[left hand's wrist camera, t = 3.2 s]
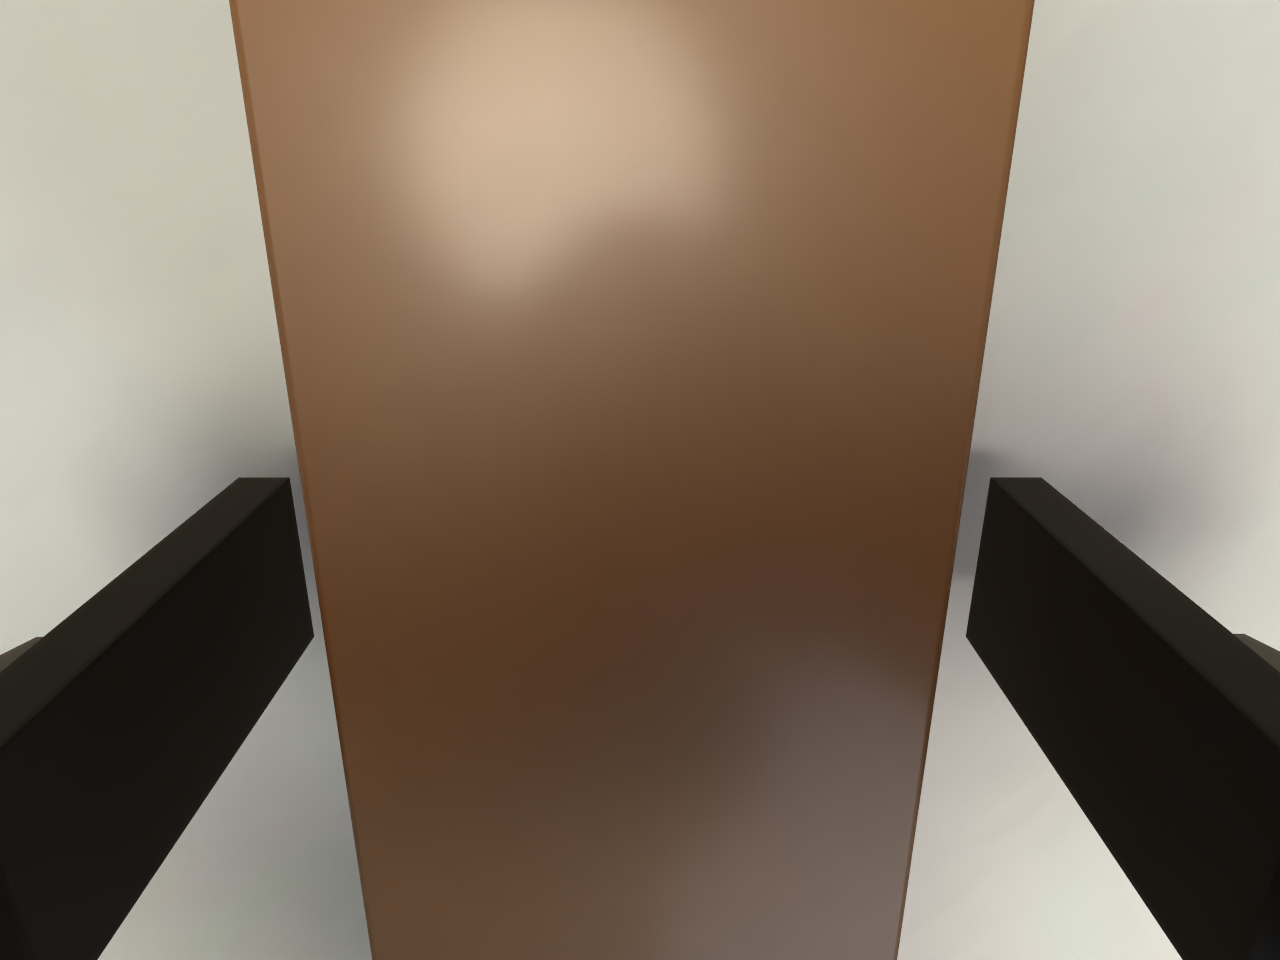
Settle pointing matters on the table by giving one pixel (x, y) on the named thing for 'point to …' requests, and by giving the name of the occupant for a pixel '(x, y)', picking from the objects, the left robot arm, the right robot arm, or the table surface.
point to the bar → (633, 446)
